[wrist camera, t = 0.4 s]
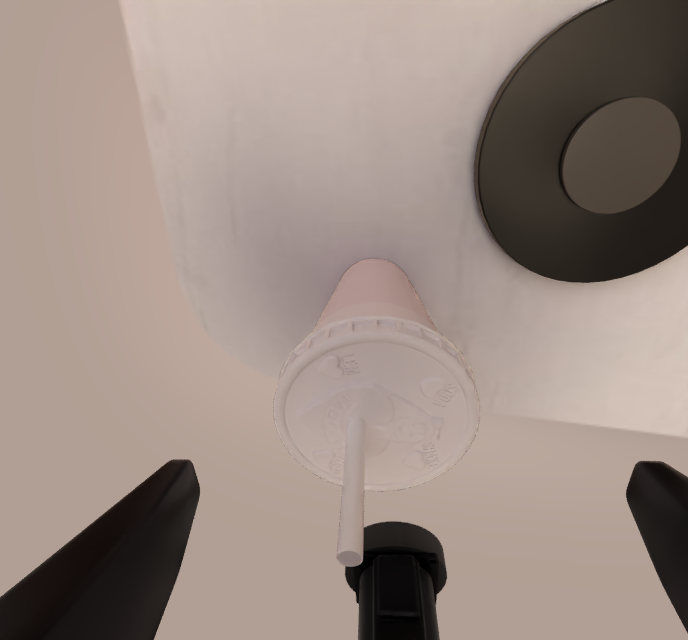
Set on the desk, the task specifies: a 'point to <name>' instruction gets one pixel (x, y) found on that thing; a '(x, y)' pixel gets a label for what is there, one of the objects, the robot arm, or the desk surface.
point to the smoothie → (375, 395)
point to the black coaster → (592, 145)
